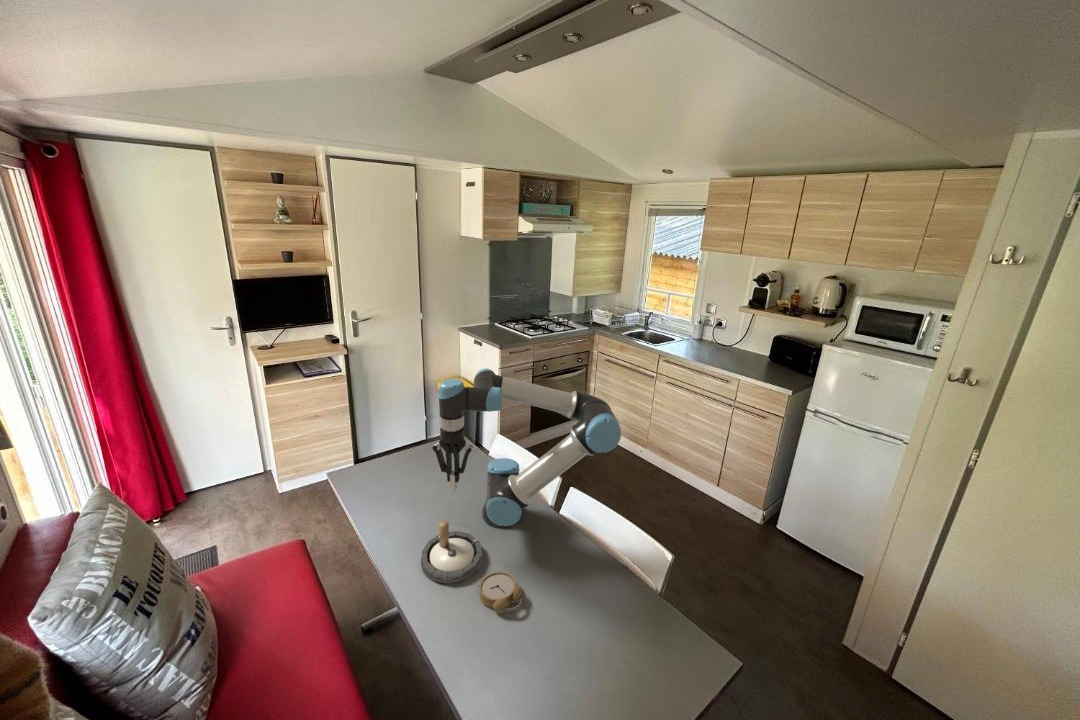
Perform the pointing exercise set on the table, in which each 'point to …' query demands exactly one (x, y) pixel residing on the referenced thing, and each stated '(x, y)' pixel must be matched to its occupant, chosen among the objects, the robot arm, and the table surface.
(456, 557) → the dial
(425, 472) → the table surface
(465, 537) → the housing
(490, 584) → the alarm clock
